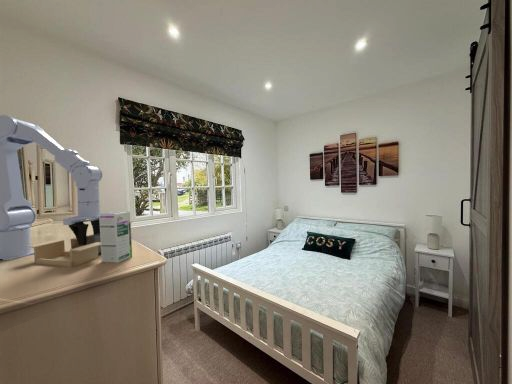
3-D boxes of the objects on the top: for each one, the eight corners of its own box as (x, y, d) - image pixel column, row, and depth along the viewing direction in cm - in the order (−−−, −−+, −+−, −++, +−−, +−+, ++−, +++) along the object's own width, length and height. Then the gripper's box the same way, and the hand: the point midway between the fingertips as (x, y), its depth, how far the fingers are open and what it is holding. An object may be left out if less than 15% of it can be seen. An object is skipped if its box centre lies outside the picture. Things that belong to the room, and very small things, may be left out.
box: (71, 252, 71) (70, 235, 71) (85, 248, 76) (84, 232, 76) (95, 254, 69) (94, 237, 69) (108, 249, 73) (107, 233, 73)
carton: (27, 262, 64) (26, 246, 64) (56, 254, 72) (55, 239, 72) (80, 268, 60) (80, 250, 59) (106, 258, 67) (105, 242, 67)
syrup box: (117, 263, 63) (115, 213, 62) (100, 262, 64) (98, 213, 64) (132, 257, 68) (131, 211, 68) (116, 256, 70) (115, 210, 69)
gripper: (75, 204, 64) (77, 250, 64) (117, 200, 78) (118, 238, 78) (57, 203, 65) (59, 248, 66) (101, 200, 80) (102, 237, 80)
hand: (90, 242), depth 72 cm, fingers open, 5 cm apart
